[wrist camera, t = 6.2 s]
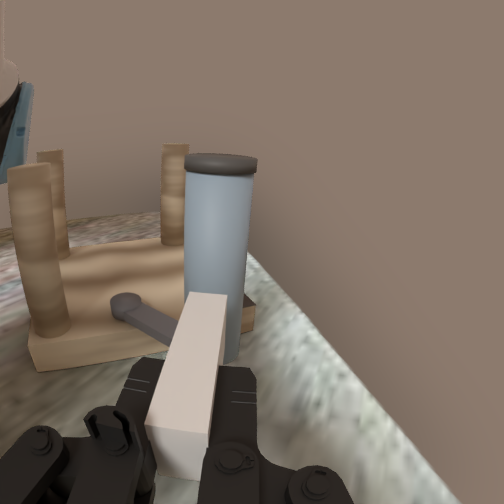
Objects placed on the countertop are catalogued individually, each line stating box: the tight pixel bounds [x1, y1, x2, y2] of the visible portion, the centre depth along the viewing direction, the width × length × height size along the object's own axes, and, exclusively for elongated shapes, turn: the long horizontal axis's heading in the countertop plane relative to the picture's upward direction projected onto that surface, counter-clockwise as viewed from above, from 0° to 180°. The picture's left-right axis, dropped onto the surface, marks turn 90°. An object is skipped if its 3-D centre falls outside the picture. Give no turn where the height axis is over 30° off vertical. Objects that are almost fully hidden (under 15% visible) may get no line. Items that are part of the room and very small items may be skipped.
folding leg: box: [110, 153, 257, 365], centre depth 18 cm, size 11×3×12 cm, turn 60°
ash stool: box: [7, 143, 256, 372], centre depth 27 cm, size 18×18×14 cm
